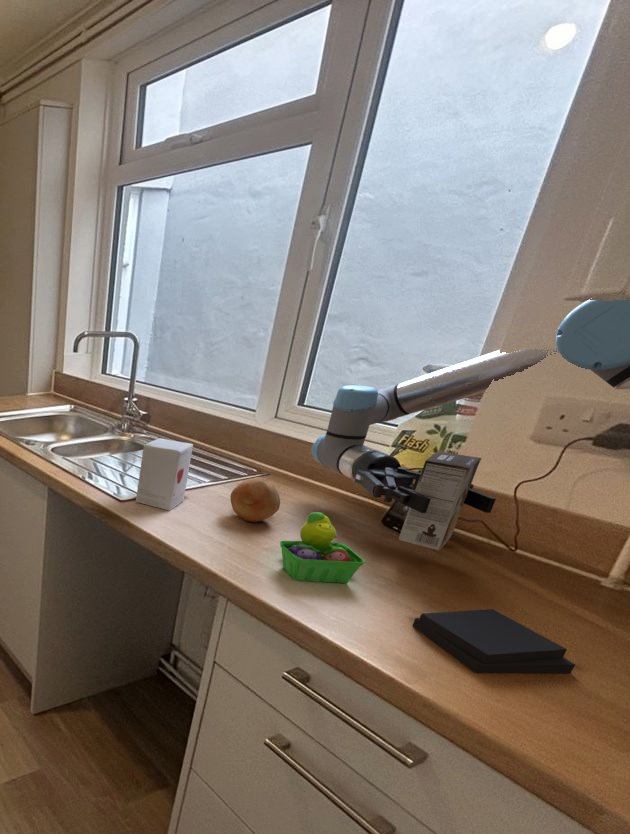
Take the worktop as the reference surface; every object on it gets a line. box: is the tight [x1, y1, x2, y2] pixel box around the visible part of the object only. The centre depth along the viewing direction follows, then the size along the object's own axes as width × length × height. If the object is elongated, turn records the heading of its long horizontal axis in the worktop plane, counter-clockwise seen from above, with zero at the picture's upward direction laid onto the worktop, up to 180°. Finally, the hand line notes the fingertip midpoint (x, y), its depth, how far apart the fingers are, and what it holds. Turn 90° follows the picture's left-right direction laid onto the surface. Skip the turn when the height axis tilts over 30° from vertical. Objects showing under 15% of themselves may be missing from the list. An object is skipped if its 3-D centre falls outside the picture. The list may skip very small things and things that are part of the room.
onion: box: [229, 476, 281, 523], centre depth 119 cm, size 10×10×10 cm
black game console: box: [412, 608, 576, 674], centre depth 77 cm, size 13×11×3 cm
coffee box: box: [398, 450, 482, 551], centre depth 97 cm, size 9×6×16 cm
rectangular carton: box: [135, 437, 194, 512], centre depth 129 cm, size 9×9×15 cm
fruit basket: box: [279, 511, 366, 584], centre depth 96 cm, size 11×9×11 cm
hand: (458, 505), depth 93 cm, fingers closed on coffee box, 11 cm apart
